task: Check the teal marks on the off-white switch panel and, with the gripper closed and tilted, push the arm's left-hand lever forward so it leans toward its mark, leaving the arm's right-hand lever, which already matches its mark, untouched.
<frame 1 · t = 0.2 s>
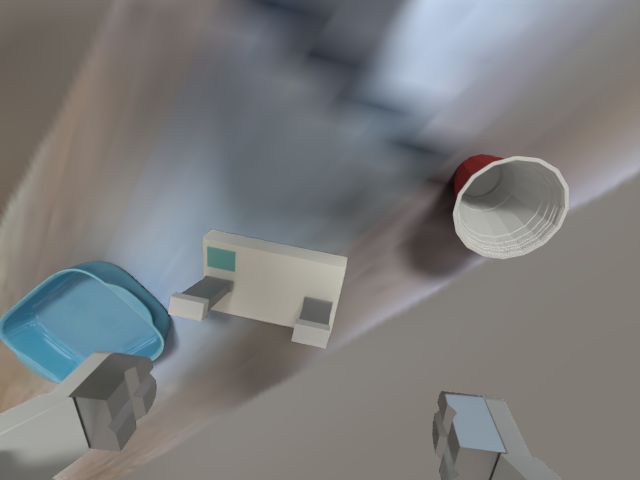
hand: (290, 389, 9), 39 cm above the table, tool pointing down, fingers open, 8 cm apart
lever 2: (314, 317, 48), point 9 cm above the table, hinge at -20.0°
casserole dish: (103, 313, 67), on the table
lever 1: (205, 293, 48), point 9 cm above the table, hinge at -20.0°
plastic cup: (477, 174, 44), on the table
switch panel: (274, 278, 57), on the table
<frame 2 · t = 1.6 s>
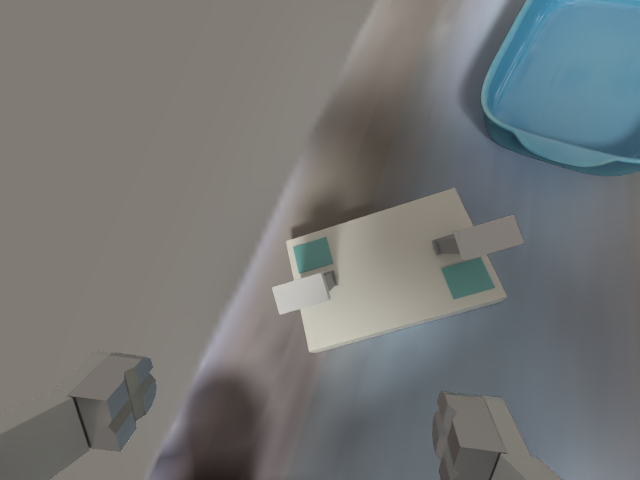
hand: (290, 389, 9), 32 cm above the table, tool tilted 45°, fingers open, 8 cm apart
lever 2: (311, 287, 34), point 9 cm above the table, hinge at -20.0°
casserole dish: (582, 85, 46), on the table
lever 1: (468, 240, 33), point 9 cm above the table, hinge at -20.0°
switch panel: (386, 273, 42), on the table
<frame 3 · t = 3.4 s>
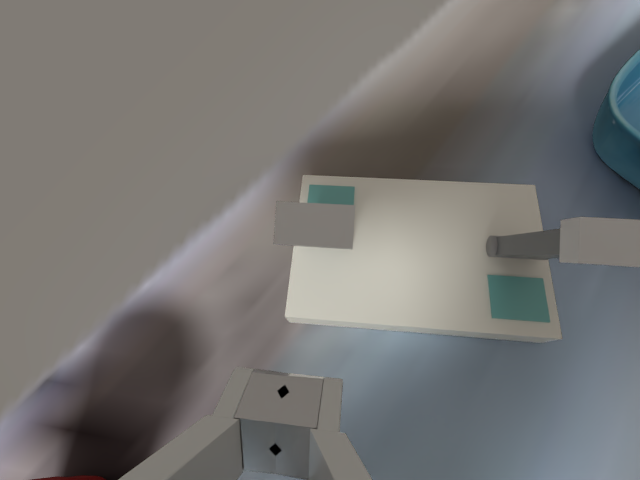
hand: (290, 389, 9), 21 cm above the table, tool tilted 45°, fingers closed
lever 2: (322, 232, 25), point 9 cm above the table, hinge at -20.0°
lever 1: (554, 245, 23), point 9 cm above the table, hinge at -20.0°
switch panel: (410, 258, 33), on the table
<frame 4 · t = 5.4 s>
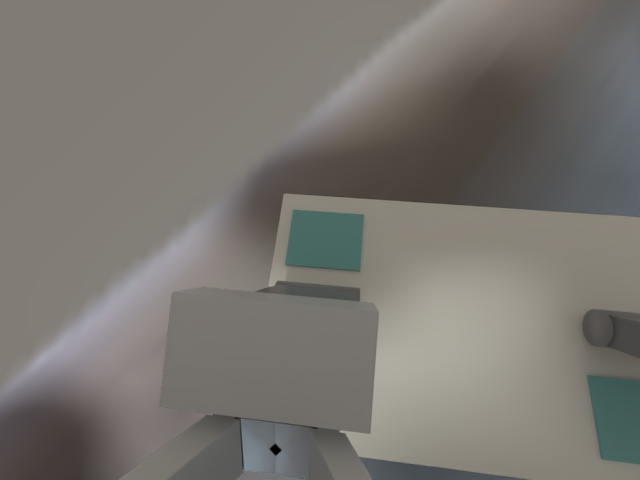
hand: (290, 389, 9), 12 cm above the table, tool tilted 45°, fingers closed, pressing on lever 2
lever 2: (304, 315, 13), point 9 cm above the table, hinge at -18.2°, touching gripper
switch panel: (448, 327, 21), on the table
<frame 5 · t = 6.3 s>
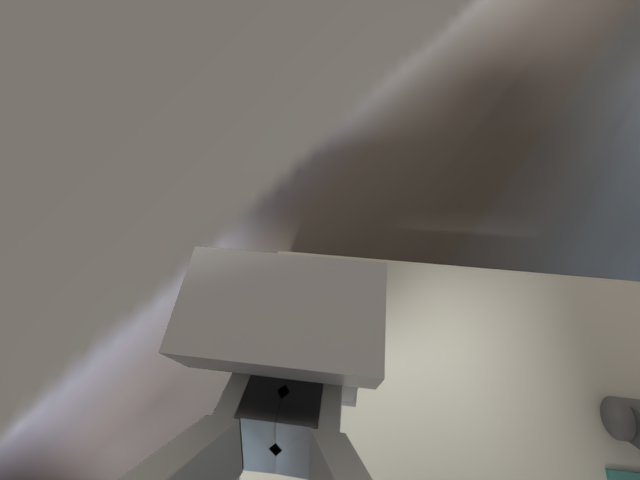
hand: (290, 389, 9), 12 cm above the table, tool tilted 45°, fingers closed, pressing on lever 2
lever 2: (302, 360, 12), point 9 cm above the table, hinge at 8.1°, touching gripper
switch panel: (453, 396, 20), on the table
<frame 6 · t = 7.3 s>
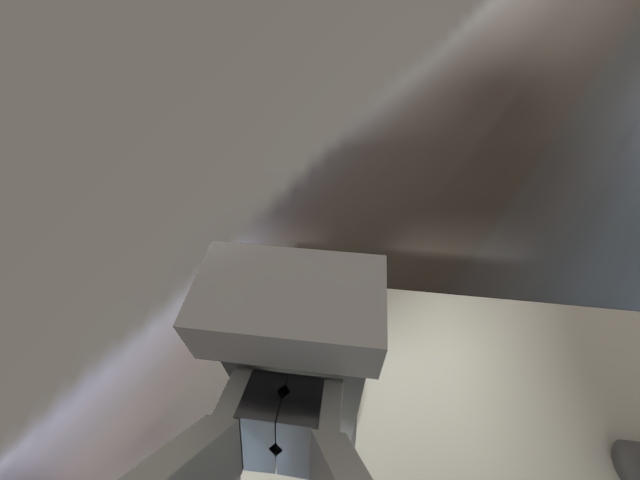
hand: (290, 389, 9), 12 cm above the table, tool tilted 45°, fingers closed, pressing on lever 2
lever 2: (302, 383, 12), point 9 cm above the table, hinge at 20.2°, touching gripper
switch panel: (456, 431, 19), on the table
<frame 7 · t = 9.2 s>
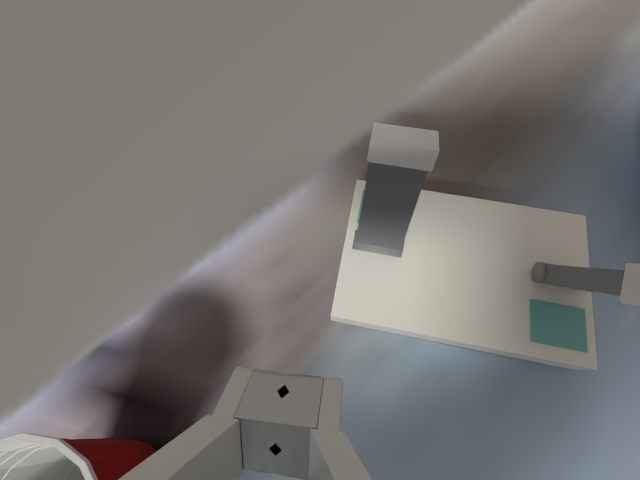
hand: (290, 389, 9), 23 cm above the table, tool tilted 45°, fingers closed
lever 2: (388, 202, 27), point 9 cm above the table, hinge at 20.2°
lever 1: (607, 282, 24), point 9 cm above the table, hinge at -20.0°
switch panel: (452, 272, 34), on the table
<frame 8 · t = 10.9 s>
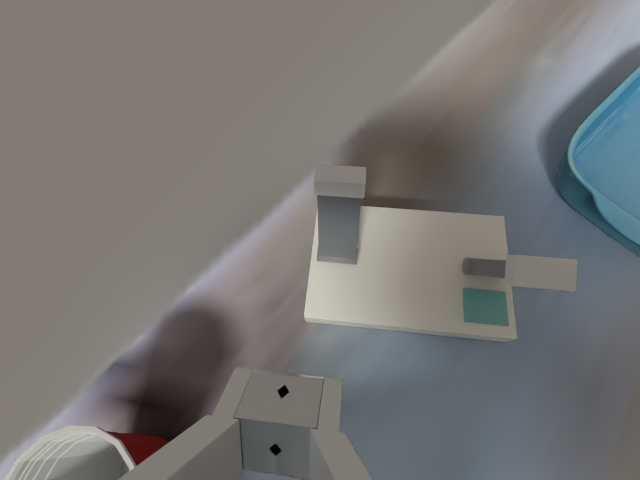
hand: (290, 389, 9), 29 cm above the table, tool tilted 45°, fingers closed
lever 2: (338, 222, 34), point 9 cm above the table, hinge at 20.2°
lever 1: (508, 269, 31), point 9 cm above the table, hinge at -20.0°
plastic cup: (150, 470, 35), on the table
switch panel: (403, 272, 41), on the table
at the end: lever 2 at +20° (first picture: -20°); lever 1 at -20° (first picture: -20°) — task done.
